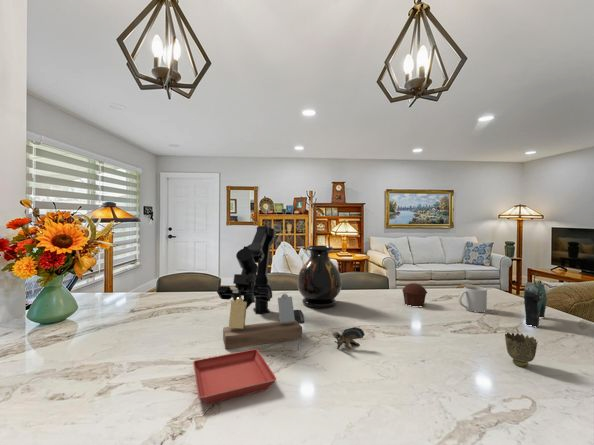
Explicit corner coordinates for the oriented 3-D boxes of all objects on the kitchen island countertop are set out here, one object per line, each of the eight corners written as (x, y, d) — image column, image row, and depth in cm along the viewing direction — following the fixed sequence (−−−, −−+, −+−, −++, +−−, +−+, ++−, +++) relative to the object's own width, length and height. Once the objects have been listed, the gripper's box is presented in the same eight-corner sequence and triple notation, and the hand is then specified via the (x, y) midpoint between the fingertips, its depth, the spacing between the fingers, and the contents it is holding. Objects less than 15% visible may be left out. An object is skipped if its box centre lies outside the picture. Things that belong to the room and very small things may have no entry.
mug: (486, 308, 136) (486, 287, 136) (486, 314, 128) (486, 291, 128) (459, 305, 142) (460, 284, 142) (458, 310, 134) (458, 288, 134)
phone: (301, 309, 131) (303, 321, 116) (301, 312, 131) (303, 324, 116) (283, 310, 131) (284, 321, 116) (283, 312, 131) (284, 324, 116)
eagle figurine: (349, 352, 89) (369, 340, 94) (338, 330, 91) (358, 319, 96) (337, 357, 94) (356, 345, 99) (326, 335, 97) (346, 325, 102)
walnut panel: (223, 339, 101) (223, 327, 101) (294, 330, 109) (294, 319, 109) (225, 348, 93) (225, 336, 93) (302, 338, 102) (302, 327, 101)
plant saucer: (198, 412, 63) (198, 397, 63) (192, 372, 80) (192, 359, 80) (277, 393, 70) (277, 379, 70) (257, 359, 87) (257, 348, 87)
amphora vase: (344, 311, 132) (345, 249, 131) (296, 310, 132) (297, 248, 132) (338, 298, 153) (338, 244, 153) (297, 297, 154) (297, 244, 153)
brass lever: (230, 327, 100) (233, 296, 102) (244, 327, 99) (247, 297, 102) (228, 327, 97) (231, 296, 100) (242, 328, 97) (245, 297, 99)
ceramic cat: (539, 330, 111) (540, 277, 110) (518, 325, 116) (519, 274, 115) (549, 318, 124) (550, 271, 124) (530, 314, 129) (530, 269, 128)
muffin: (400, 300, 150) (400, 281, 149) (422, 301, 148) (423, 281, 148) (405, 307, 138) (405, 286, 138) (430, 308, 136) (430, 287, 136)
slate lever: (279, 323, 104) (276, 294, 108) (293, 321, 106) (289, 293, 110) (281, 322, 102) (278, 293, 106) (295, 320, 104) (291, 292, 108)
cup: (539, 374, 79) (539, 344, 79) (505, 367, 83) (506, 338, 83) (534, 363, 85) (535, 335, 85) (503, 356, 89) (504, 330, 89)
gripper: (218, 263, 106) (205, 303, 96) (268, 265, 103) (260, 306, 93) (226, 279, 114) (215, 318, 104) (273, 281, 112) (267, 321, 101)
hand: (238, 315), depth 100 cm, fingers closed, pressing on brass lever
